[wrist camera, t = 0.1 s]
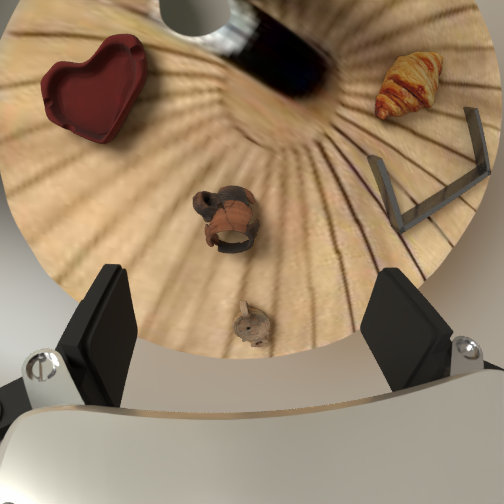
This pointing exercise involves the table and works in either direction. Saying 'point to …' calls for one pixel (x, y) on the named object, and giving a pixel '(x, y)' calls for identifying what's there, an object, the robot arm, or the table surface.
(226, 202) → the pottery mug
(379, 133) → the table surface
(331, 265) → the table surface
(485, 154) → the bent metal bracket
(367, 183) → the table surface
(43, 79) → the ashtray
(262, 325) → the oil lamp
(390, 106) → the croissant
